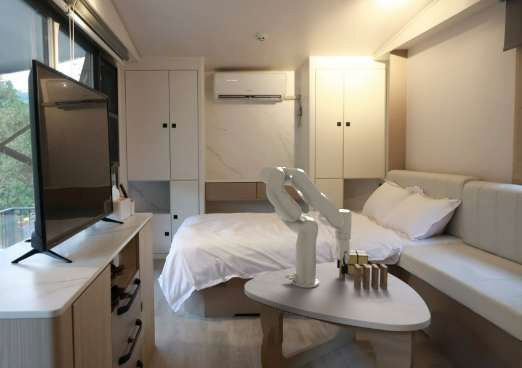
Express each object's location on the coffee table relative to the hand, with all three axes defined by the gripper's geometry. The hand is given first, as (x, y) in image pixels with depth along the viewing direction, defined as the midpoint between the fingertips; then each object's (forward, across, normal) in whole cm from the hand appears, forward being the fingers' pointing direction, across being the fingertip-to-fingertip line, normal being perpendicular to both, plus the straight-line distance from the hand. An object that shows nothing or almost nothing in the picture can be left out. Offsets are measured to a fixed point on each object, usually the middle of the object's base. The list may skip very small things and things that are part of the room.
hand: (342, 270), depth 170 cm
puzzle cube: (+4, -10, +10) cm, 15 cm away
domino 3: (+4, +12, +8) cm, 14 cm away
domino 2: (+4, +12, +4) cm, 13 cm away
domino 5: (+4, +12, +16) cm, 20 cm away
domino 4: (+4, +12, +12) cm, 17 cm away
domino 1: (+4, 0, 0) cm, 4 cm away
